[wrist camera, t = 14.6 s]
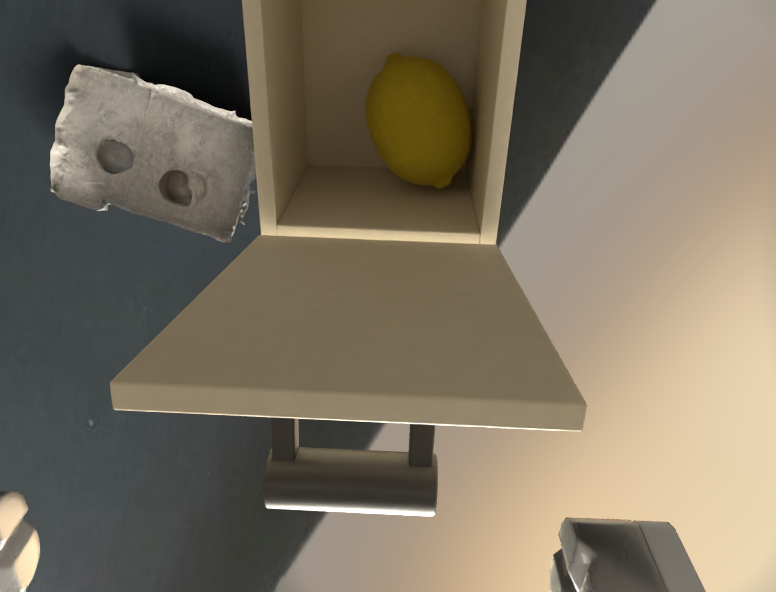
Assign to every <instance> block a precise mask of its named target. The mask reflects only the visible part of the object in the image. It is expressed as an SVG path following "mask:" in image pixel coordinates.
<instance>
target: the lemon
mask: <svg viewBox="0 0 776 592" xmlns="http://www.w3.org/2000/svg"><path fill="white" fill-rule="evenodd" d="M365 113H366V120H367V125H368V129H369V132H370V136H371V138H372V141H373V143H374V146H375V148H376V150H377V151H378V153H379V155H380V156H381V158H382V159H383V161H384V162H385V164H386V165H387V166H388V167H389V169H390V170H391V171H392V172H393V173H394V174H395V175H397V176H398V177H399V178H401V179H403V180H405V181H407V182H410V183H413V184H416V185H423V186H434V187H436V188H438V189H441V188H445V187H447V186H448V185H450V183H451V180H452V177H453V176H454V175H455V174H456V173H457V172H458V171H459V170H460V169H461V167H462V166H463V164H464V163H465V161H466V159H467V157H468V155H469V152H470V149H471V143H472V131H471V122H470V116H469V111H468V107H467V104H466V101H465V98H464V96H463V93H462V91H461V89H460V87H459V86H458V84H457V82H456V81H455V79H454V78H453V77H452V76H451V74H450V73H449V72H448V71H447V70H446V69H444V68H443V67H442V66H440V65H439V64H437V63H436V62H434V61H432V60H429V59H426V58H421V57H406V56H404V55H401V54H399V53H392V54H390V55H388V56H387V58H386V61H385V64H384V67H383V69H382V70H381V71H380V72H379V73H378V74H377V75H376V77H375V78H374V80H373V81H372V83H371V85H370V88H369V90H368V94H367V97H366V104H365Z"/></svg>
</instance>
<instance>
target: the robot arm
mask: <svg viewBox="0 0 776 592" xmlns="http://www.w3.org/2000/svg"><path fill="white" fill-rule="evenodd" d="M27 510H28V507H27V505H26V503H25V500H24V498H23V496H22V493H16V492H7V491H0V592H25V590H26V588H27V587H28V585H29V583H30V582H31V580H32V578H33V576H34V573H35V570H36V567H37V563H38V560H39V556H40V541H39V538H38V535H37V532H36V529H34V528H33V527H32V526H31V525H29V524H28V523H27V522H26V521H24V520H23V519H22V517H23V516H24V514H25V513H26V511H27ZM559 537H560V541H561V545H562V549H560V550H559V551H558V552H556V553H555V554H554V555H553V559H552V564H551V569H550V592H706V591H705V589H704V587H703V585H702V583H701V581H700V579H699V577H698V575H697V573H696V571H695V569H694V567H693V565H692V563H691V561H690V559H689V556H688V554H687V553H686V551H685V548H684V546H683V544H682V542H681V540H680V538H679V536H678V534H677V532H676V530H675V528H674V527H673V526H672V525H671V524H670V523H669V522H654V521H653V522H652V521H631V520H619V519H590V518H566V519H565V520H564V521H563V522H562V525H561V528H560V532H559Z"/></svg>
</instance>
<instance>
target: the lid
mask: <svg viewBox="0 0 776 592" xmlns="http://www.w3.org/2000/svg"><path fill="white" fill-rule="evenodd" d="M110 389H111V396H112V404H113V408H114V409H115V410H130V411H151V412H173V413H194V414H215V415H237V416H258V417H270V422H271V449H270V451H269V453H268V456H267V460H266V465H265V471H264V481H263V498H264V504H265V506H266V507H267V508H274V509H294V510H314V511H334V512H354V513H375V514H394V515H395V514H396V515H414V516H415V515H417V516H435V513H436V506H437V486H438V466H437V456H436V454H434V453H433V451H434V437H435V425H451V426H452V425H453V426H472V427H495V428H515V429H537V430H557V431H582V430H583V426H584V420H585V413H586V407H587V404H586V402H585V400H584V399H583V397H582V395H581V393H580V391H579V390H578V388H577V386H576V384H575V383H574V381H573V379H572V377H571V376H570V374H569V372H568V370H567V368H566V367H565V365H564V363H563V361H562V360H561V358H560V356H559V354H558V352H557V351H556V349H555V347H554V345H553V344H552V342H551V340H550V338H549V337H548V335H547V333H546V331H545V329H544V328H543V326H542V324H541V323H540V321H539V319H538V317H537V315H536V313H535V312H534V310H533V309H532V306H531V305H530V303H529V301H528V299H527V298H526V296H525V294H524V292H523V290H522V289H521V287H520V285H519V283H518V282H517V280H516V278H515V277H514V275H513V273H512V271H511V269H510V267H509V266H508V264H507V262H506V261H505V259H504V257H503V255H502V253H501V252H500V250H499V248H498V246H497V245H493V244H468V243H444V242H420V241H395V240H371V239H346V238H322V237H298V236H273V235H259V236H258V237H257V238H256V239H255V240H254V241H253V242H252V243H251V244H250V245H249V246H248V247H247V248H246V249H245V250H244V251H243V252H242V253H241V254H240V255H239V256H238V257H237V258H236V259H235V260H234V261H232V262H231V263H230V264H229V265H228V266H227V267H226V268H225V269H224V270H223V271H222V272H221V273H220V274H219V275H218V276H217V277H216V278H215V279H214V280H213V281H212V282H211V283H210V284H209V285H208V286H207V287H206V288H205V289H204V290H203V291H202V292H201V293H200V294H199V295H198V296H197V297H196V298H195V299H194V300H193V301H192V302H191V303H190V304H189V305H188V306H187V307H186V308H185V309H184V310H183V311H182V312H181V313H180V314H179V315H178V316H177V317H176V318H175V319H174V320H173V321H172V322H171V323H170V324H169V325H168V326H167V327H166V328H164V329H163V330H162V331H161V332H160V333H159V334H158V335H157V336H156V337H155V338H154V339H153V340H152V341H151V342H150V343H149V344H148V345H147V346H146V347H145V348H144V349H143V350H142V351H141V352H140V353H139V354H138V355H137V356H136V357H135V358H134V359H133V360H132V361H131V362H130V363H129V364H128V365H127V366H126V367H125V368H124V369H123V370H122V371H121V372H120V373H119V374H118V375H117V376H116V377H115V378H114V379H113V380H112V381H111V382H110ZM298 418H301V419H322V420H344V421H365V422H386V423H408V424H410V434H409V452H392V451H391V452H390V451H371V450H350V449H329V448H308V447H299V437H298Z"/></svg>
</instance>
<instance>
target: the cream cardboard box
mask: <svg viewBox="0 0 776 592" xmlns="http://www.w3.org/2000/svg"><path fill="white" fill-rule="evenodd" d="M526 1H527V0H242V7H243V19H244V31H245V43H246V56H247V68H248V80H249V92H250V104H251V116H252V129H253V141H254V153H255V165H256V177H257V190H258V202H259V214H260V226H261V235H273V236H298V237H322V238H346V239H371V240H395V241H420V242H444V243H468V244H493V245H496V237H497V230H498V222H499V214H500V206H501V198H502V190H503V182H504V174H505V166H506V159H507V151H508V143H509V135H510V127H511V119H512V111H513V103H514V96H515V88H516V80H517V72H518V64H519V56H520V48H521V40H522V32H523V25H524V17H525V9H526ZM392 53H399V54H401V55H404V56H406V57H421V58H426V59H429V60H432V61H434V62H436V63H437V64H439V65H440V66H442V67H443V68H444V69H446V70H447V71H448V72H449V73H450V74H451V76H452V77H453V78H454V79H455V81H456V82H457V84H458V86H459V87H460V89H461V91H462V93H463V96H464V98H465V101H466V104H467V107H468V111H469V116H470V122H471V131H472V143H471V149H470V152H469V155H468V157H467V159H466V161H465V163H464V164H463V166H462V167H461V169H460V170H459V171H458V172H457V173H456V174H455V175H454V176H453V177H452V180H451V183H450V185H448V186H447V187H445V188H441V189H438V188H436V187H434V186H423V185H416V184H413V183H410V182H407V181H405V180H403V179H401V178H399V177H398V176H397V175H395V174H394V173H393V172H392V171H391V170H390V169H389V167H388V166H387V165H386V164H385V162H384V161H383V159H382V158H381V156H380V155H379V153H378V151H377V150H376V148H375V146H374V143H373V141H372V138H371V136H370V132H369V129H368V125H367V120H366V113H365V104H366V97H367V94H368V90H369V88H370V85H371V83H372V81H373V80H374V78H375V77H376V75H377V74H378V73H379V72H380V71H381V70H382V69H383V67H384V64H385V61H386V58H387V56H388V55H390V54H392Z"/></svg>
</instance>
